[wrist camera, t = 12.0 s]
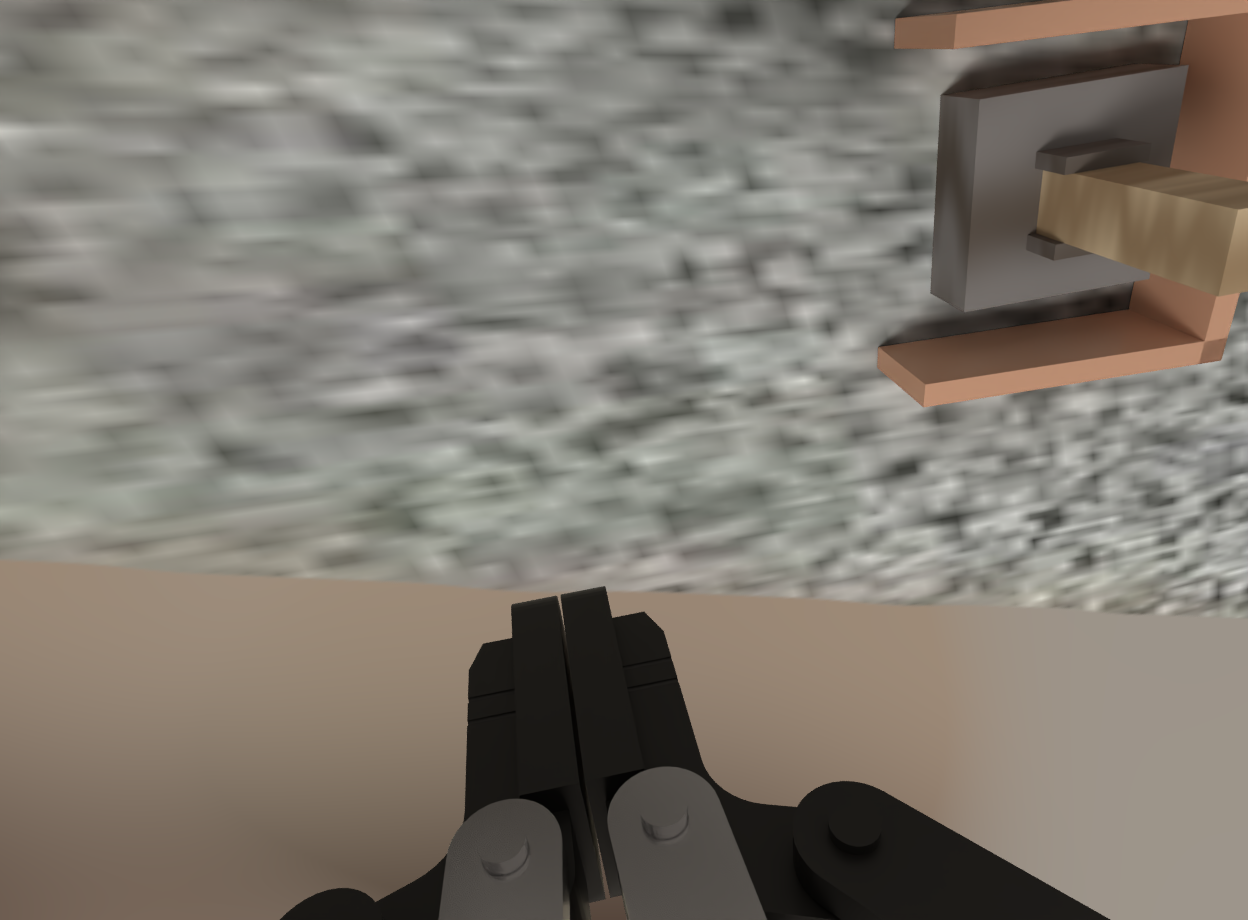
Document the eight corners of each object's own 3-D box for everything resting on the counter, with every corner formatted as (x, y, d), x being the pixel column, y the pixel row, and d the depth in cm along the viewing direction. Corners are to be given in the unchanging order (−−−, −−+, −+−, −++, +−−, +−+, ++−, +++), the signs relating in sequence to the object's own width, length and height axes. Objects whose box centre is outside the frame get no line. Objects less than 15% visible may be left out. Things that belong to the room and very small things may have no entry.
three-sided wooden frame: (895, 18, 29) (956, 14, 25) (1221, -21, 30) (1328, -31, 26) (877, 367, 36) (923, 407, 32) (1144, 326, 37) (1221, 360, 33)
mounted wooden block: (939, 95, 31) (1163, 119, 21) (1131, 63, 31) (1447, 71, 21) (929, 292, 35) (1114, 398, 24) (1100, 261, 35) (1355, 352, 25)
